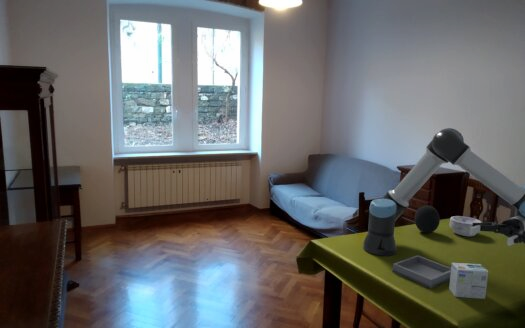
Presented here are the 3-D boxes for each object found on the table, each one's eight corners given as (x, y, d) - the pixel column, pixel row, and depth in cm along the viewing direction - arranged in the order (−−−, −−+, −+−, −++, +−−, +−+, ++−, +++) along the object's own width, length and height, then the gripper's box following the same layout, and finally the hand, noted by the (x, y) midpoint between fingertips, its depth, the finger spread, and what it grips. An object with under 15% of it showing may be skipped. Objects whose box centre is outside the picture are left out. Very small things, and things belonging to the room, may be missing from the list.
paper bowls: (475, 230, 215) (477, 216, 214) (484, 240, 201) (486, 225, 199) (445, 227, 219) (447, 214, 217) (452, 237, 204) (454, 222, 203)
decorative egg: (443, 235, 206) (446, 207, 204) (425, 237, 202) (427, 209, 199) (426, 227, 218) (428, 201, 215) (408, 229, 213) (410, 203, 211)
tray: (392, 271, 160) (393, 263, 159) (416, 262, 170) (417, 255, 169) (430, 288, 146) (431, 279, 146) (454, 277, 156) (455, 269, 155)
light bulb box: (477, 290, 146) (481, 263, 144) (485, 299, 139) (489, 271, 138) (447, 288, 147) (451, 261, 145) (454, 297, 140) (458, 269, 139)
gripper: (548, 245, 149) (524, 257, 137) (482, 227, 169) (455, 236, 157) (551, 226, 148) (527, 236, 136) (484, 210, 168) (457, 218, 156)
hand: (488, 236), depth 147 cm, fingers open, 13 cm apart
